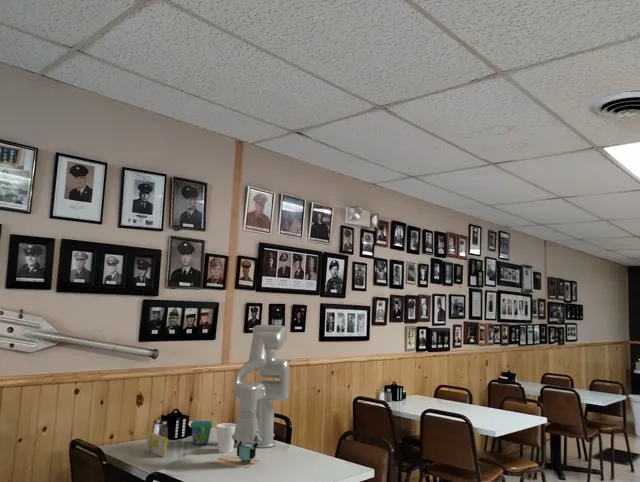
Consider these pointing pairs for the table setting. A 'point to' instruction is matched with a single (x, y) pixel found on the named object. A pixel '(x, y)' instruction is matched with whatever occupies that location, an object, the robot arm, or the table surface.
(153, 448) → the candy box
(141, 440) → the table surface
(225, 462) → the board
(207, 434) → the snack cup
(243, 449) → the cap
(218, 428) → the foam cup
